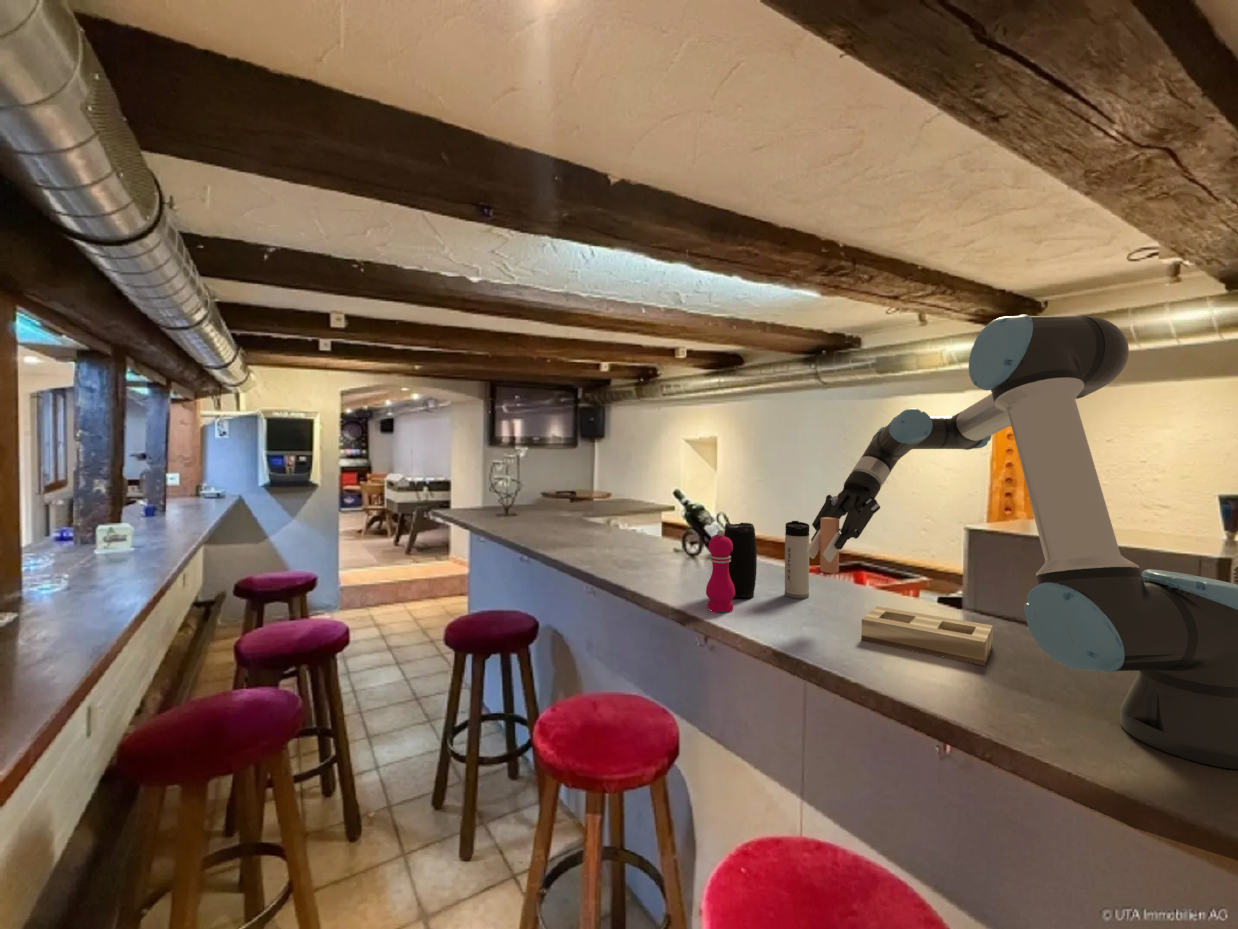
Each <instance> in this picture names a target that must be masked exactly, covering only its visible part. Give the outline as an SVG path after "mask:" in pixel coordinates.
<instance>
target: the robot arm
mask: <svg viewBox="0 0 1238 929" xmlns="http://www.w3.org/2000/svg"><path fill="white" fill-rule="evenodd" d="M1129 351H1130V348H1129V343H1128V339H1127V338H1126V335H1125V334H1124V332H1123V331H1122V330H1121V329H1120V328H1119V327H1118V326H1117V325H1116V324H1114V323H1113V322H1111V321H1109V320H1108V319H1107V320H1106V319H1104V318H1101V317H1098V316H1091V315H1077V316H1075V315H1068V316H1067V315H1066V316H1065V315H1064V316H1063V315H1061V316H1060V315H1057V316H1056V315H1052V316H1051V315H1049V316H1048V315H1046V316H1044V315H1039V316H1038V315H1036V316H1035V315H1029V314H1019V315H1014V316H1012V315H1011V316H1001V317H998V318H996V319H993V320H991V321H990V322H989V323H988V324H986V325H985V326H984V327H983V328H982V330H980V332H979V334H978V335H977V336H976V338H975V341H973V345H972V348H971V351H970V354H969V359H968V374H969V377H970V380H971V383H972V384H973V385H974V386H976V387H977V388H978V389H980V390H983V391H990V392H991V393H990V394H988V395H987V396H985V397H983V398H982V399H980V400H978V401H977V402H975V403H974V404H972V405H970V406H968V407H967V408H965V409H964V410H962V411H960V412H958V413H956V414H955V415H939V416H938V415H935V416H934V415H932V416H931V415H929V414H928V413H927V412H925V411H924V410H920V409H918V408H913V407H911V408H906V409H904V410H903V411H901V412H900V413H899V414H897V415H896V416H895V417H893V418H892V419H891V421H890V422H889V423H888V425H886V426H885V425H884V426H881V427H880V428H879V429H878V430H877V432H876V433H875V434H874V435H873V436H872V439H871V441H870V442H869V444H868V446H867V447H866V449H865V450H864V452H863V454H862V456H861V457H860V458H859V460H858V461H857V463H856V464H855V465H854V467H853V469H852V470H851V472H850V474H849V475H848V477H847V478H846V480H845V481H844V483H843V489H842V490H841V491H840V492H839V493H838V494H837V495H834V496H832V495H831V494H827V495H826V497H825V502H824V504H823V505H822V507H821V508H820V510H819V512H818V514H816V517H815V519H814V520H813V522H812V523H811V526H812V527H813V528H814V529H815V532H814V534H813V536H812V537H811V539H810V542H809V547H808V548H807V550H806V552H807V553H808V555H809V558H811V559H815V558H816V556H817V555H818V553H819V552H820V531H821V518H823V517H831V518H839V520H840V519H841V518H842V517H843V516H844V517H845V519H844V521H843V523H842V527H841V528H839V532H836V533H835V535H834V537H833V538H832V540H831V541H830V543H829V545H828V546H827V548H826V549H825V551H824V553H823V556H824V557H825V558H826V560H827V561H828V562H832V560H833V558H834V557H835V555H836V554H837V552H838V550H839V551H840V550H842V549H843V548H844V546H845V544H846V543H847V542H848V540H850V539H856V540H857V539H859V537H861V535H862V533H863V531H864V530H865V528H866V527H867V526H868V524H869V522H870V520H871V519H872V518H873V516H874V515H875V514H876V513H877V512H878V511H880V509H881V505H880V504H879V503H878V501H877V500H876V497H877V496H878V494H879V492H880V490H881V488H882V487H883V485H884V484H885V483H886V481H887V479H888V478H889V476H890V475H891V472H892V470H893V469H894V467H895V466H896V464H897V463H898V462H899V461H900V460H901V459H902V458H903V457H904V456H905V455H906V454H908V453H909V452H910V451H911V450H965V451H966V450H967V451H969V450H974V449H977V450H978V449H982V448H985V447H986V446H987V445H988V442H990V441H991V439H992V435H995V434H997V433H998V432H1001V431H1003V430H1005V429H1006V428H1009V427H1010V426H1011V429H1012V434H1013V437H1014V441H1015V446H1016V448H1017V453H1018V458H1019V460H1020V465H1021V470H1022V473H1023V478H1024V481H1025V485H1026V489H1027V493H1028V496H1029V501H1030V505H1031V506H1030V507H1031V509H1032V513H1033V517H1034V521H1035V526H1036V530H1037V534H1038V538H1039V541H1040V546H1041V550H1042V553H1043V557H1044V563H1043V565H1042V566H1041V567H1040V569H1038V571H1037V572H1036V573H1035V576H1036V580H1037V585H1036V586H1034V587H1033V588H1032V589H1030V590H1029V592H1028V593H1027V596H1026V600H1027V602H1025V603H1024V616H1025V620H1026V624H1027V627H1028V629H1029V631H1030V634H1031V635H1032V637H1033V639H1034V641H1035V642H1036V643H1037V645H1038V646H1039V647H1040V648H1041V650H1042V651H1043V652H1044V653H1046V654H1048V656H1049V657H1050V658H1051V659H1053V661H1055V662H1056V663H1057V664H1059V665H1062V666H1063V667H1066V668H1067V669H1072V670H1076V671H1083V672H1084V671H1086V672H1087V671H1091V672H1092V671H1093V672H1098V673H1105V674H1106V673H1114V672H1130V671H1131V672H1132V671H1136V672H1137V674H1136V676H1135V678H1134V680H1133V682H1132V684H1131V686H1130V688H1129V690H1128V692H1127V693H1126V696H1125V697H1124V699H1123V701H1122V703H1121V705H1120V710H1119V711H1120V712H1119V724H1120V726H1121V727H1122V729H1123V730H1124V731H1125V732H1126V733H1128V734H1129V735H1131V736H1132V737H1134V738H1135V739H1137V740H1139V741H1141V742H1142V743H1145V744H1147V745H1149V746H1151V747H1152V748H1155V749H1157V750H1160V751H1163V752H1165V753H1167V754H1170V755H1174V756H1176V757H1178V758H1181V759H1186V760H1189V761H1193V762H1197V763H1200V764H1205V765H1209V766H1212V767H1213V766H1214V767H1219V768H1225V769H1232V770H1238V584H1236V583H1232V582H1227V581H1223V580H1218V579H1214V578H1209V577H1204V576H1197V575H1192V574H1188V573H1187V574H1186V573H1182V572H1175V571H1168V570H1161V569H1150V568H1149V569H1145V570H1143V571H1142V572H1141V569H1140V566H1139V565H1138V564H1136V563H1135V562H1133V561H1132V560H1129V559H1127V558H1126V557H1124V556H1123V555H1122V554H1121V551H1120V548H1119V545H1118V541H1117V538H1116V534H1115V531H1114V528H1113V524H1112V520H1111V517H1110V514H1109V510H1108V507H1107V504H1106V501H1105V497H1104V493H1103V490H1102V486H1101V483H1100V480H1099V477H1098V473H1097V469H1096V465H1095V462H1094V459H1093V455H1092V452H1091V449H1090V446H1089V442H1088V439H1087V435H1086V431H1085V428H1084V425H1083V421H1082V417H1081V415H1080V411H1079V407H1078V403H1077V401H1076V400H1078V399H1082V398H1084V397H1087V396H1088V395H1090V394H1092V393H1096V392H1097V391H1099V390H1101V389H1102V388H1104V387H1106V386H1107V385H1110V383H1112V382H1113V381H1115V379H1117V377H1119V375H1120V374H1121V373H1122V372H1123V370H1124V368H1125V366H1126V364H1127V362H1128V359H1129Z"/></svg>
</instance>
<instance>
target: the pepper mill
mask: <svg viewBox="0 0 1238 929" xmlns="http://www.w3.org/2000/svg"><path fill="white" fill-rule="evenodd" d="M724 532H725V530H723V529H718V531H717V532H716V534H717V535H715V536H713V537H711V538H710V540H709V542H708V550H709V552H710V553H711V555H710V562H712V564H711V565H712V570H711V575H710V577H709V580H708V582H707V584H706V588H705V595H706V596H707V598H708V599H709V600H708V601H707V609H708V608H709V609H710V610H712V611H716V612H715V613H717V612H728V613H731V612H733V611H734V602H733V600H734V599H733V598H734V596H735V588H734V584H733V582H732V580H731V578H730V575H729V562H731V560H730V558H731V556H730V553H731V552H732V550H733V544H732V541H731V540H730V539H729V538H728V537H725V536H724ZM709 609H708V610H709ZM710 610H709V611H710ZM732 610H733V611H732ZM712 611H711V612H712ZM730 611H731V612H730Z"/></svg>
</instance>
